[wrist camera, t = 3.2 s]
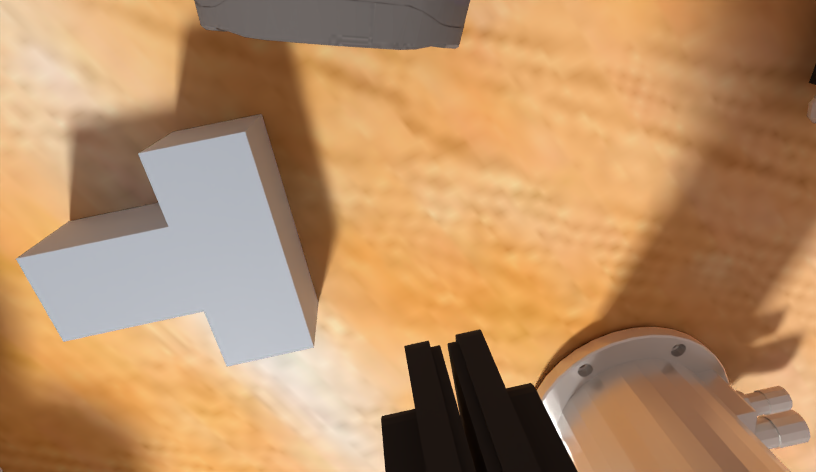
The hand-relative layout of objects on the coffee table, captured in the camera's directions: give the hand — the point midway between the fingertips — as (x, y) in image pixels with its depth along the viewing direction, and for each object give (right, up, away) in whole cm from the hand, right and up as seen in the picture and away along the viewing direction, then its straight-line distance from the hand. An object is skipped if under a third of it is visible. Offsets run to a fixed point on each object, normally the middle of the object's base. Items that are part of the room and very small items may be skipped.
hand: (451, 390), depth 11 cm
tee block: (-11, +3, +13) cm, 18 cm away
